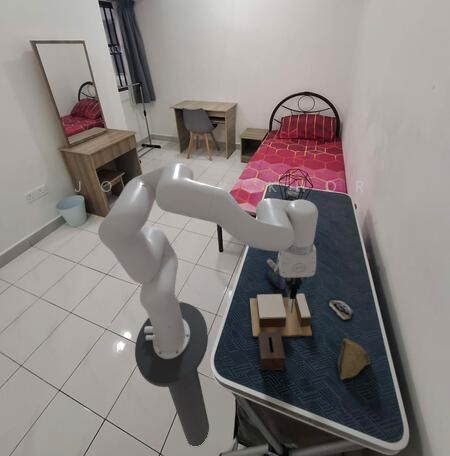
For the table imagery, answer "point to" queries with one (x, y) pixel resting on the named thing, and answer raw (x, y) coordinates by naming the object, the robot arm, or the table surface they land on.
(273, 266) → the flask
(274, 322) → the cake loaf
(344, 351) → the rock
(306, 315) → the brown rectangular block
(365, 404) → the table surface
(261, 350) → the knife block
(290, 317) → the board
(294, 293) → the knife
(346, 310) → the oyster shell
